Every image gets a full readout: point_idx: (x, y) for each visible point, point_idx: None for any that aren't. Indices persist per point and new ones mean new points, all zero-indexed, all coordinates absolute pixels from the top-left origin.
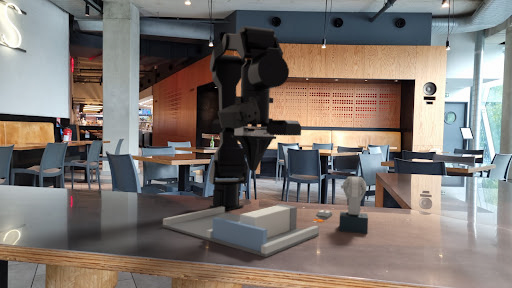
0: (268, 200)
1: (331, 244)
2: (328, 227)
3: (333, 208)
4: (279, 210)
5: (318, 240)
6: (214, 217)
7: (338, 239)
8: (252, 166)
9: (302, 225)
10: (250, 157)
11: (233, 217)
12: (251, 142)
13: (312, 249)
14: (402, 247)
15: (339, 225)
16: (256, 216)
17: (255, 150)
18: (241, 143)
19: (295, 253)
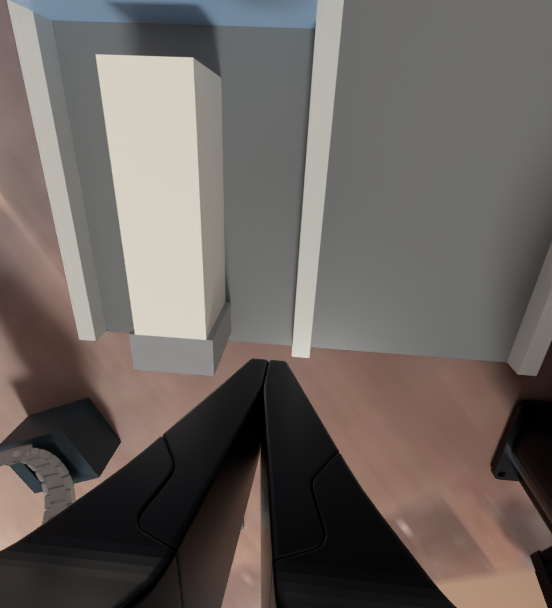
0: (462, 576)
1: (12, 269)
2: (131, 412)
3: (244, 578)
4: (131, 268)
5: (61, 280)
6: (498, 271)
7: (35, 324)
8: (246, 371)
9: (197, 389)
10: (264, 435)
11: (428, 318)
12: (83, 591)
13: (8, 185)
14: None
15: (79, 408)
16: (107, 80)
17: (118, 475)
18: (425, 605)
19: (7, 106)
